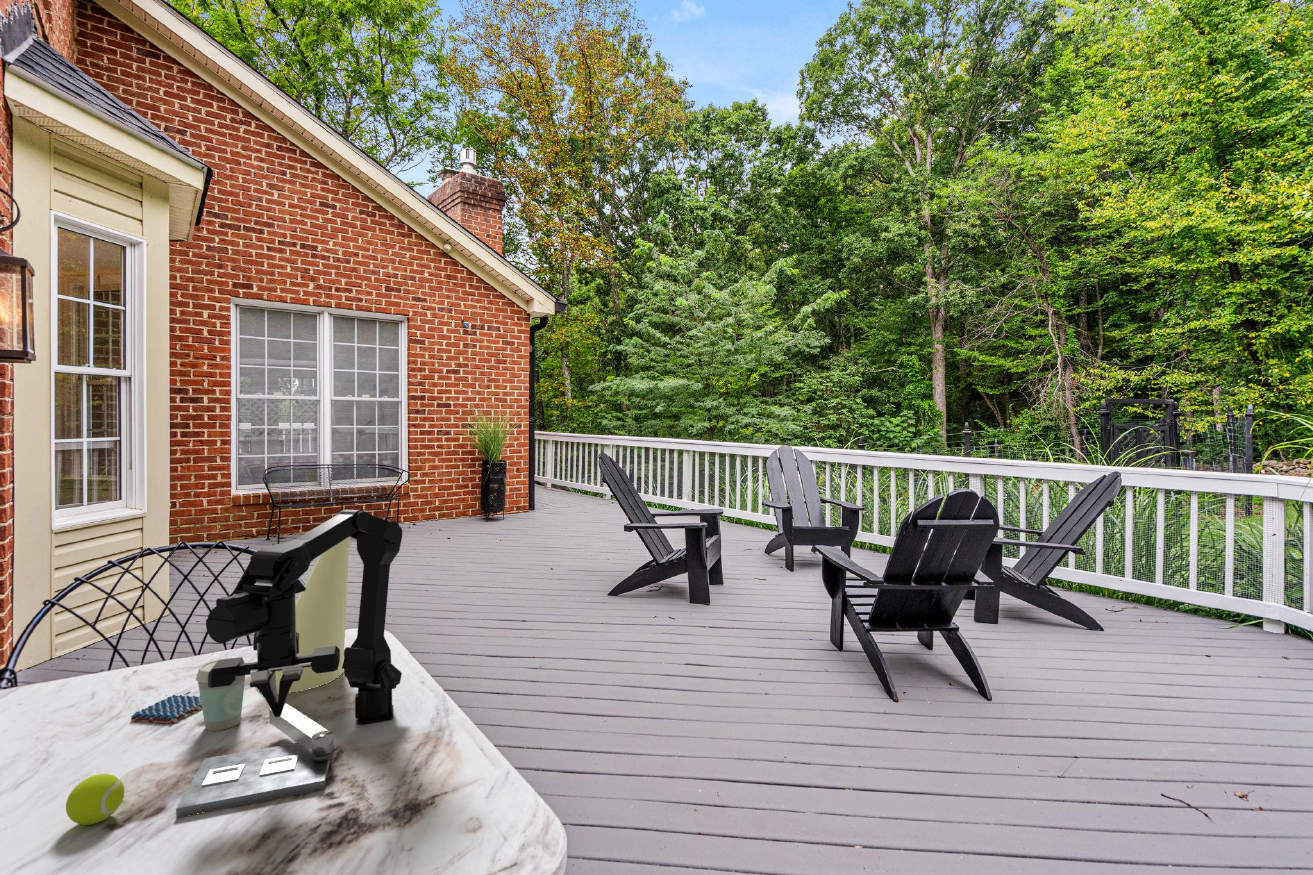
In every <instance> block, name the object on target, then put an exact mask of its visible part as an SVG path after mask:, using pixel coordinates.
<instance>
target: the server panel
mask: <svg viewBox="0 0 1313 875" xmlns="http://www.w3.org/2000/svg"><path fill="white" fill-rule="evenodd" d="M333 750H334V749H333ZM333 750H332V751H331V752H329V753H327V754H325V755H319V756H316V755H313V754H312V753H311V752H309V751H308V750H307V749H305V748H304V747H302V746H301V745H300V744H298V743H297V742H294V743H289V744H282V745H279V746H278V745H276V746H271V747H266V748H259V749H254V750H253V749H252V750H247V751H242V752H236V753H229V754H224V755H218V756H212V757H205V758H204V759H203V761H202V762H201V764H200V766H199V768H198V770H197V771H196V773H195V775H194V776H193V778H192V780H191V782H190V784H188V787H187V788H186V791H185V793H184V794H183V795H182V798H181V799H180V801H179V803H178V804H177V806H176V807H175V814H176V815H175V818H176V819H179V817H181V818H186V817H189V816H188V815H191V816H194V815H193V814H196V815H198V814H197V813H201V814H203V813H202V812H207V813H210V811H212V812H214V811H213V810H217V811H220V810H219V809H222V810H224V809H223V808H227V809H230V808H236V807H241V806H248V805H252V804H256V803H263V802H267V801H273V800H277V799H283V798H288V797H292V796H297V795H298V796H299V795H303V794H308V793H314V792H319V791H323V790H325V789H326V786H327V785H326V784H327V778H328V775H329V768H330V764H331V763H330V762H331V759H333V756H334V752H333Z"/></svg>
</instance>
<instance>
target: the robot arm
mask: <svg viewBox="0 0 1313 875" xmlns="http://www.w3.org/2000/svg"><path fill="white" fill-rule="evenodd" d="M348 537H349V538H350V539H354V540H355V541H356V551H357V553H358V556H359V558H360V559H361V562H362V564H363V570H362V579H361V591H360V601H359V612H358V613H359V614H358V624H357V633H356V634H357V635H356V638H355V639H354V641H353V643H352V644H351V646H350V647H349V646H348V647H347V646H346V647H344V662H343V665H342V669H343V675H344V677H345V678H346V679H347V683H348V684H349V688H350V689H351V688H356V689H357V692H356V693H355V694H354V695H355V696H354V717H355V719H357V725H363V724H369V723H377V722H382V721H390V720H392V719H393V718H394V704H393V690H395V689H396V688H397V686H399V685H400V684H401V680H402V674H403V673H402V671H401V670H399V669H398V668H397V667H396V666H395V665H394V664H393V663H392V650H391V648H390V646H389V643H388V642H387V639H386V638H385V627H386V618H387V617H386V616H387V606H388V605H387V603H388V592H389V582H390V571H391V570H390V569H391V564H392V562H393V561H394V559H395V558H396V557H397V555H398V554H399V552H400V549H401V545H402V539H403V529H402V527H401V526H400V524H399V523H398V522H397V521H395V520H387V519H384V518H381V517H378V516H375V515H372V514H370V513H368V512H366V511H364V509H363V510H361V509H343V510H341V511H339V512H338V513H337V514H336V515H335V516H333V517H331V518H329V519H328V520H326V521H324V522H323V523H322V524H319V525H318V526H316V527H314V528H312V529H311V530H309V531H307V532H306V533H304V534H302V535H299V537H297V538H295V539H292V540H290V541H284V542H282V543H277V544H272V545H269V546H267V547H264V548H262V549H258V550H257V551H255V552H254V553H253V554H252V555H251V556H250V557H249V560H250V561H249V563H248V565H247V567H246V568H245V570H244V572H243V574H242V575H241V577H240V579H239V580H238V583H237V584H236V586H235V588H234V590H233V595H231V596H222V597H218V598H217V599H216V600H215V606H214V607H213V608H212V609H211V610H210V611H209V613H208V615H207V619H205V627H206V631H207V632H206V633H207V634H208V636H209V637H210V639H211V640H213V641H214V643H218V644H227V643H229V642H232V641H235V640H238V639H241V638H243V637H246V636H249V635H252V634H253V642H252V644H253V645H252V649H253V651H255V652H256V653H257V654H256V655H257V658H256V659H257V660H256V661H253V662H245V660H244V659H243V656H241V657H230V658H231V659H225V658H222V659H223V660H219V659H218V660H219V661H218V662H217V663H216V664H215V665H214V666H213V667H212V669H211V670H210V671H209V674H208V687H209V688H214V687H222V686H229V685H231V684H232V683H233V682H234V681H235V680H236V676H244V675H245V676H250V680H251V681H250V682H249V687H250V688H254V687H257V689H258V690H259V691H260V692H259V691H258V692H259V693H260V694H261V695H262V697H263V698H264V700H265V701H266V703H267V705H268V706H269V709H270V708H271V710H272V712H273V714H274V716H275V717H281V714H282V711H283V708H284V705H285V704H286V701H287V699H288V695H289V693H288V692H289V690H290V687H291V685H292V683H293V682H295V681H299V680H300V679H301V676H302V673H303V670H304V668H305V667H312V670H313V671H314V672H315V673H317V674H318V673H326V672H333V671H336V670H338V666H339V662H340V649H339V648H338V647H337V646H330V647H321V648H315V649H314V652H313V655H307V656H299V657H297V656H296V654H298V653H299V633H297V632H296V609H295V604H296V594H301V592H303V591H305V590H306V587H304V586H305V585H303V584H301V583H299V582H298V580H299V579H300V578H301V577H302V576H303V575H304V574H306V572H307V571H308V570H309V568H310V566H311V563H312V562H313V561H314V560H315V559H317V558H319V556H320V555H321V554H323V553H324V552H326V551H328V550H329V549H331V548H332V547H334V546H335V545H337V544H339V543H340V542H342V541H343V540H345V539H346V538H348ZM244 662H245V663H244ZM276 671H282V673H283V675H282V677H281V679H280V684H279V694H277V688H276Z"/></svg>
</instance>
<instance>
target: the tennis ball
mask: <svg viewBox="0 0 1313 875" xmlns="http://www.w3.org/2000/svg"><path fill="white" fill-rule="evenodd" d="M124 798H125V786H124V783H123V782H122V780H121V779H119V778H118V777H117V776H116V775H113V774H111V773H110V774H109V773H99V774H98V773H97V774H95V775H91V776H89V777H87V778H86V779H83V780H82V781H80V782H79V783H78V784H77V785H76V786H75V787H74V788H73V789H72V790H71V791H70V793H69V795H68V797H67V799H66V803H65V811H66V814H67V817H68V818H69V819H70V820H71V821H73V823H76V824H78V825H82V826H89V825H95V824H98V823H101V822H103V821H104V820H106V819H108V818H110V817H112V815H113V814H114V813H115V812H116V811H117V810H118V809H119V808H120V806H121V804H122V803H123V800H124Z"/></svg>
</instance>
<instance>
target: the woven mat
mask: <svg viewBox="0 0 1313 875" xmlns="http://www.w3.org/2000/svg"><path fill="white" fill-rule="evenodd" d="M201 708H202V704H201V698H200V696H195V695H193V696H190V695H187V694H186V695H182V694H179V695H176V694H173V695H171V696H170V695H169V696H168V697H166V698H164V699H161V700H159V701H157V702H155V703H154V704H152V705H148V706H147V707H144V708H143V709H141V710H138V711H135V713H134V714H132V715H131V716H130V720H131V721H132V722H145V723H146V722H148V723H162V724H165V723H166V724H176V723H178V722H179V721H182V720H181V719H186V718H187V717H189V716H191V714H197V713H198V711H201V710H202V709H201ZM188 715H189V716H188Z"/></svg>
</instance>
